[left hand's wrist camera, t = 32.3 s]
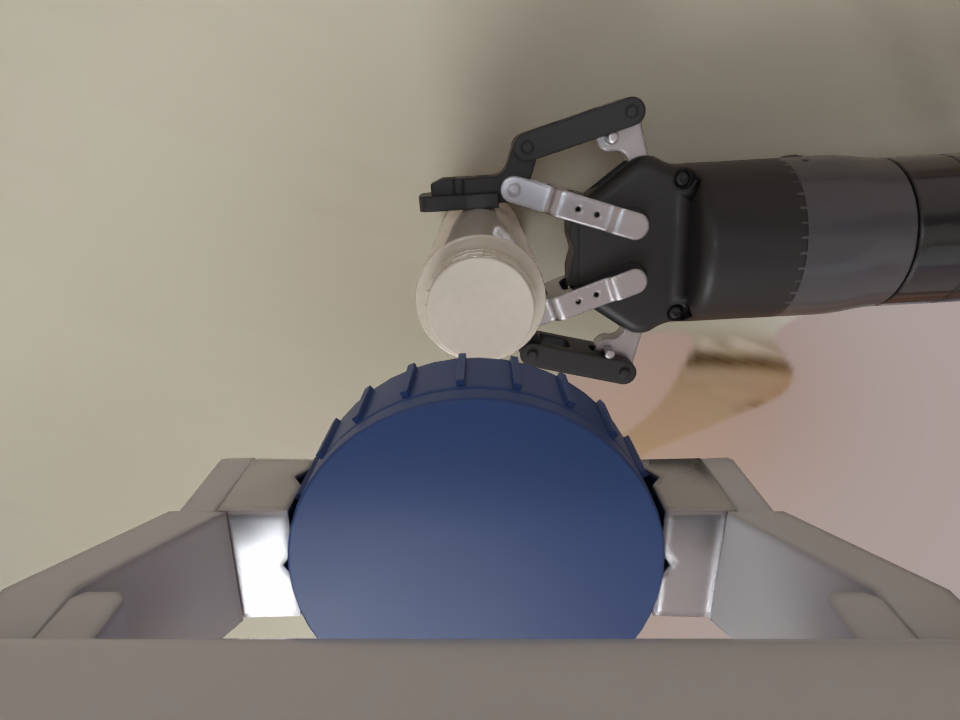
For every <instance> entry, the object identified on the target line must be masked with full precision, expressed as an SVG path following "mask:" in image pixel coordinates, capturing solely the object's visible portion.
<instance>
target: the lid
mask: <svg viewBox="0 0 960 720" xmlns="http://www.w3.org/2000/svg"><path fill="white" fill-rule="evenodd" d="M317 457H318V458H317ZM646 476H648V474H647V472H646V470H645V468H644V466H643V464H642V461H641V459H640V457H639V455H638V453H637V451H636V449H635V447H634V445H633V443H632V441H631V439H630V437H629V436H626V437H624V438H623V436H622V435H621V433H620V431H619V430H618V428H617V427H616V425H615V423H614V422H613V421H612V419H611V417H610V415H609V412H608V410H607V408H606V406H605V404H604V403H603V402H602V401H601V400H599V401H597V402H596V403H595V402H594V401H593V400H592V399H591V398H590V397H589V396H588V395H586V394H585V393H584V392H582V391H581V390H579V389H578V388H576V387H575V386H573V385H572V384H570V383H569V382H568V380H567V377H566V375H565V374H563V373H561V372H559V373H558V375H557V376H555V375H553V374H551V373H549V372H547V371H544V370H542V369H539V368H536V367H533V366H530V365H527V364H523V363H519V361H518V357H514V356H511V357H510V361H508V360H503V359H492V358H466V353H459V355H458V359H451V360H445V361H439V362H434V363H430V364H427V365H424V366H420V367H417V366H416V364H415V363H413V364H410V365H408V368H407V371H406V372H404V373H402V374H400V375H397V376H395V377H393V378H391V379H389V380H388V381H386V382H384V383H383V384H381V385H380V386H378V387H376V388H375V389H373V388H372V387H371V386H369V387H367V388H366V389H365V390H364V393H363V395H362V397H361V399H360V401H358V402H357V403H356V404H355V405H354V406H353V407H352V408H351V410H350V411H349V412H348V413H347V414H346V415H345V416H344V417H343V418H342V420H341V421H340V420H339V419H337V418H336V419H335V420H334V421H333V423H332V425H331V427H330V429H329V431H328V433H327V435H326V437H325V438H324V440H323V442H322V444H321V446H320V448H319V450H318V452H317V454H316V457H315V459H314V461H313V463H312V464H311V466H310V468H309V470H308V472H307V474H306V476H305V478H304V480H303V482H302V484H301V486H300V488H299V490H298V492H297V494H296V497H295V499H296V500H299V501H298V503H297V505H296V509H295V512H294V515H293V519H292V522H291V525H290V532H289V540H288V569H289V574H290V580H291V585H292V589H293V592H294V595H295V598H296V601H297V604H298V607H299V609H300V611H301V613H302V615H303V616H304V618H305V620H306V622H307V624H308V626H309V627H310V629H311V630H312V632H313V633H314V634H315V636H316V637H317V639H635V638H636V637H637V635H638V634H639V633H640V632H641V630H642V628H643V627H644V625H645V623H646V621H647V620H648V618H649V616H650V614H651V613H652V610H653V607H654V605H655V602H656V600H657V597H658V595H659V591H660V586H661V582H662V578H663V573H664V559H665V547H664V537H663V529H662V526H661V522H660V518H659V514H658V510H657V508H656V506H655V503H654V501H653V499H652V494H651V492H650V490H649V488H648V487H647V486H646V483H645V481H644V479H643V478H644V477H646Z"/></svg>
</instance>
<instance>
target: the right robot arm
mask: <svg viewBox="0 0 960 720" xmlns="http://www.w3.org/2000/svg"><path fill="white" fill-rule="evenodd" d="M644 116H645V105H644V103H643V102H642V100H641V99H639V98H637V97H628V98H624V99H620V100H616V101H613V102H610V103H608V104H605V105H602V106H599V107H596V108H593V109H590V110H587V111H584V112H582V113H579V114H576V115H573V116H570V117H567V118H564V119H561V120H558V121H556V122H553V123H550V124H547V125H544V126H541V127H538V128H535V129H532V130H530V131H527V132H524V133H521V134H518V135H517V136H516V137H515V138H514V139H513V141H512V144H511V149H510V152H509V155H508V159H507V162H506V165H505V166H504V168H503V169H502V170H501V171H500V172H498V173H496V174H493V175H477V176H460V177H443V178H441V179H439V180H437V181H435V182H433V183H432V184H431V193H423V194H421V195H420V196H419V203H420V212H437V211H454V210H472V209H490V208H499V203H508V202H509V203H513V204H516V205H519V206H523V207H526V208H530V209H533V210H537V211H540V212H543V213H546V214H549V215H551V216H554V217H557V218H561V219H564V223H565V235H566V238H567V242H568V245H569V248H568V252H567V256H566V260H565V275H564V276H561V277H558V278H556V279H553V280H551V281H549V282H547V283H545V284H544V285H545V291H546V305H545V311H544V315H543V319H542V321H541V323H540V326H541V325H544V324H546V323H549V322H552V321H555V320H558V321H561V320H565V319H568V318H571V317H573V316H576V315H579V314H581V313H584V312H587V311H589V310H592V309H595V310H596V311H598V312H599V313H601V314H602V315H604V316H605V317H607V318H609V319H610V320H612V321H613V322H615V323H616V324H618V325H619V326H620V327H619V328H618V329H617V330H616V331H615V332H613V333H603V334H600V335H598V336H596V337H595V339H594V340H593V342H592V341H587V340H582V339H577V338H572V337H567V336H562V335H557V334H552V333H546V332H541V331H536V333H535V334H534V335H533V337H532V338H531V339H530V340H529V341H528V342H527V343H526V344H525V345H524V346H523V347H522V348H520V349H519V352H520V357H521V360H522V362H523V363H524V364H527V365H530V366H533V367H537V368H542V369H547V370H552V371H557V372H562V373H568V374H573V375H578V376H583V377H588V378H593V379H598V380H604V381H609V382H614V383H619V384H627V383H630V382H631V381H633V379H634V378H635V376H636V368H635V367H634V365H633V359H634V356H635V353H636V349H637V346H638V343H639V340H640V336H641V333H643V332H647V331H649V330H651V329H653V328H654V327H656V326H658V325H660V324H663V323H666V322H671V321H697V320H715V319H733V318H754V317H772V316H791V315H809V314H823V313H831V312H838V311H843V310H848V309H853V308H859V307H866V306H881V305H899V304H918V303H937V302H952V301H960V153H950V154H938V155H918V156H901V157H884V158H863V157H851V156H838V155H822V156H805V157H804V156H798V155H788V156H783V157H780V158H771V159H754V160H738V161H720V162H703V163H685V164H668V163H665V162H663V161H661V160H659V159H658V158H656V157H653V156H648V153H647V149H646V144H645V140H644V135H643V131H642V126H641V121H642V120H643V118H644ZM591 140H594V143H595V145H596V147H597V148H598V149H600V150H602V151H608V152H611V151H618V152H619V153H621V155H622V156H623V158H624V161H623V162H622V163H621V164H619V165H618V166H617V167H616V168H614V169H613V170H612V171H611V172H609V173H608V174H607V175H606V176H604V177H603V178H602V179H601V180H599V181H598V182H597V183H596V184H594V185H593V186H592V187H591V188H589V189H588V190H587V191H586V192H584V193H582V192H578V191H575V190H572V189H568V188H565V187H561V186H558V185H554V184H551V183H546V182H543V181H539V180H536V179H533V178H531V175H532V172H533V169H534V165H535V162H536V159H538V158H541V157H544V156H547V155H550V154H553V153H556V152H559V151H562V150H565V149H567V148H570V147H573V146H576V145H579V144H582V143H585V142H588V141H591ZM568 286H570V288H568ZM577 299H579V301H578V302H576V300H577Z"/></svg>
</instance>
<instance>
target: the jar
mask: <svg viewBox="0 0 960 720" xmlns="http://www.w3.org/2000/svg"><path fill="white" fill-rule="evenodd" d="M415 303H416V310H417V315H418V318H419V320H420V323H421V325H422V327H423V329H424V331H425V332H426V334H427V335H428V336H429V338H430V339H431V340H432V341H433V342H434V343H435V344H436V345H437V346H438V347H440V348H441V349H442V350H444V351H445V352H447V353H449V354H451V355H453V356H455V357H458V355H459V353H466V358H492V359H501V358H504V357H506V356H508V355H511V354H513V353H514V352H516V351H518V350H519V349H520V348H522V347H523V346H524V345H525V344H526V343H527V342H528V341H529V340H530V339H531V338H532V337H533V335H534V334H535V333H536V331H537V329H538V327H539V326H540V323H541V321H542V319H543V315H544V311H545V305H546V291H545V285H544V281H543V278H542V275H541V273H540V270H539V268H538V266H537V263H536V261H535V258H534V256H533V254H532V251H531V249H530V247H529V244H528V242H527V240H526V237H525V235H524V232H523V230H522V228H521V225H520V223H519V221H518V218H517V216H516V214H515V213H514V211H513V210H512V208H511V207H510V206H509V205H508V204H507V203H499V208H490V209H472V210H454V211H448V213H447V214H446V216H445V218H444V221H443V223H442V225H441V227H440V230H439V232H438V234H437V237H436V239H435V241H434V243H433V246H432V248H431V250H430V252H429V255H428V257H427V259H426V262H425V264H424V266H423V268H422V271H421V273H420V275H419V278H418V281H417V286H416V293H415Z"/></svg>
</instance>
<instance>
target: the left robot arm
mask: <svg viewBox="0 0 960 720" xmlns="http://www.w3.org/2000/svg"><path fill="white" fill-rule="evenodd" d="M313 461H314V459H261V458H258V459H255V458H228V459H222V460H221V461H220V462H219V463H218V464H217V465H216V467H215V468H214V469H213V470H212V472H211V473H210V474H209V475H208V477H207V478H206V479H205V480H204V482H203V483H202V484H201V485H200V487H199V488H198V489H197V490H196V492H195V493H194V494H193V495H192V496H191V498H190V499H189V500H188V501H187V503H186V504H185V505H184V506H183V508H182V509H181V510H180V511H174V512H167V513H165V514H163V515H161V516H159V517H157V518H155V519H152V520H150V521H148V522H146V523H144V524H142V525H140V526H137V527H135V528H133V529H131V530H129V531H127V532H125V533H123V534H120V535H118V536H116V537H114V538H112V539H110V540H108V541H105V542H103V543H101V544H99V545H97V546H95V547H93V548H90V549H88V550H86V551H84V552H82V553H80V554H78V555H75V556H73V557H71V558H69V559H67V560H65V561H63V562H61V563H58V564H56V565H54V566H52V567H50V568H48V569H46V570H43V571H41V572H39V573H37V574H35V575H33V576H31V577H28V578H26V579H24V580H22V581H20V582H18V583H16V584H13V585H11V586H9V587H7V588H5V589H3V590H2V591H1V592H0V720H960V600H959V599H958V598H957V597H956V596H955V595H954V594H953V593H952V592H951V591H950V590H948V589H946V588H944V587H942V586H940V585H938V584H936V583H933V582H931V581H929V580H927V579H925V578H923V577H921V576H919V575H917V574H915V573H912V572H910V571H908V570H906V569H904V568H902V567H900V566H898V565H896V564H893V563H891V562H889V561H887V560H885V559H883V558H881V557H879V556H877V555H874V554H872V553H870V552H868V551H866V550H864V549H862V548H860V547H858V546H855V545H853V544H851V543H849V542H847V541H845V540H843V539H841V538H839V537H836V536H834V535H832V534H830V533H828V532H826V531H824V530H822V529H819V528H817V527H815V526H813V525H811V524H809V523H807V522H805V521H803V520H801V519H798V518H796V517H794V516H792V515H790V514H788V513H786V512H778V511H773V510H772V509H771V507H770V506H769V505H768V503H767V502H766V501H765V500H764V498H763V497H762V496H761V495H760V493H759V492H758V491H757V490H756V488H755V487H754V486H753V485H752V483H751V482H750V481H749V480H748V478H747V477H746V476H745V474H744V473H743V472H742V471H741V469H740V468H739V467H738V466H737V464H736V463H735V462H734V461H733V460H732V459H729V458H707V459H700V458H693V459H650V460H641V461H642V464H643V466H644V468H645V470H646V472H647V474H648V476H646V477H644V478H643V479H644V481H645V483H646V486H647V487H648V488H649V490H650V492H651V494H652V499H653V501H654V503H655V506H656V508H657V510H658V514H659V518H660V522H661V526H662V529H663V537H664V547H665V559H664V573H663V578H662V582H661V586H660V591H659V595H658V597H657V600H656V602H655V605H654V607H653V610H652V613H653V616H682V617H711V619H710V620H711V621H712V622H714V623H715V624H716V625H717V626H718V627H719V628H720V629H722V630H723V631H724V632H725V633H726V634H727V635H728V636H730V637H731V638H732V639H222V638H223V637H224V636H225V635H227V634H228V633H229V632H230V631H231V630H232V629H234V628H235V627H236V626H237V625H238V624H239V623H241V622H242V621H243V617H272V616H300V615H301V611H300V609H299V607H298V604H297V601H296V598H295V595H294V592H293V589H292V585H291V580H290V574H289V569H288V540H289V532H290V525H291V522H292V519H293V515H294V512H295V509H296V505H297V503H298V501H299V500H296V499H295V497H296V494H297V492H298V490H299V488H300V486H301V484H302V482H303V480H304V478H305V476H306V474H307V472H308V470H309V468H310V466H311V464H312V463H313Z"/></svg>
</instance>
